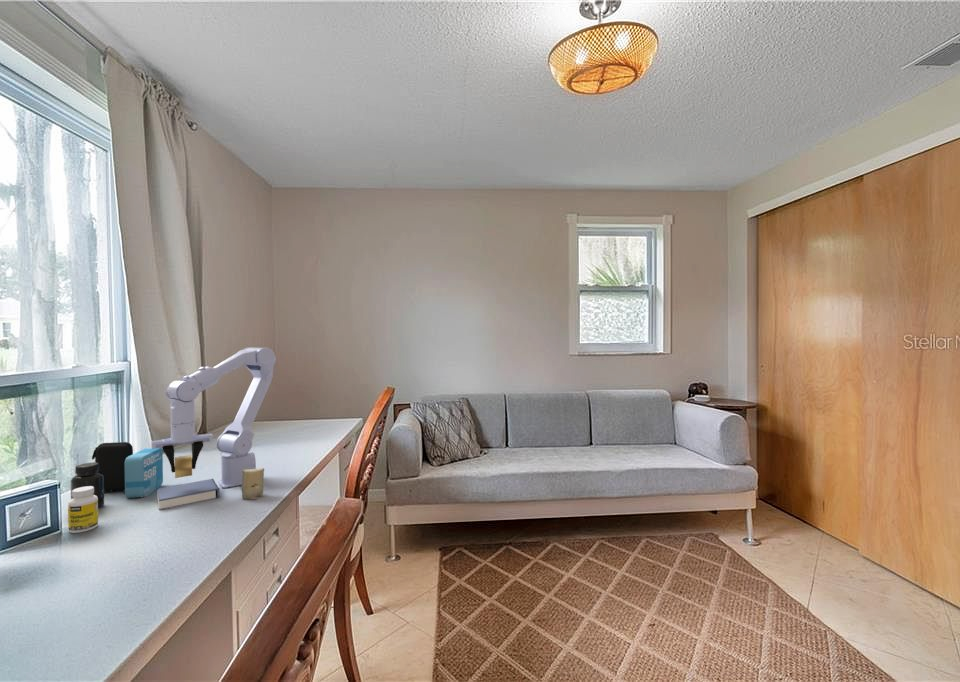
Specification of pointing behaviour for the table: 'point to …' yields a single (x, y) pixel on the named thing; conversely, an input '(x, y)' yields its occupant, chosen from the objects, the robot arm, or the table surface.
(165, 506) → the slate blue book
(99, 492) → the supplement bottle
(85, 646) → the table surface
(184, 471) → the mustard block
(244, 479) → the tan upright rounded block
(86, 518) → the supplement bottle
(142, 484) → the data package
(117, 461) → the carrying case or bag
